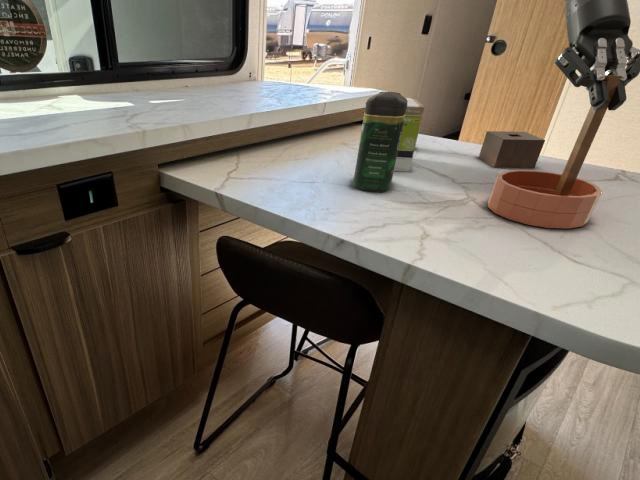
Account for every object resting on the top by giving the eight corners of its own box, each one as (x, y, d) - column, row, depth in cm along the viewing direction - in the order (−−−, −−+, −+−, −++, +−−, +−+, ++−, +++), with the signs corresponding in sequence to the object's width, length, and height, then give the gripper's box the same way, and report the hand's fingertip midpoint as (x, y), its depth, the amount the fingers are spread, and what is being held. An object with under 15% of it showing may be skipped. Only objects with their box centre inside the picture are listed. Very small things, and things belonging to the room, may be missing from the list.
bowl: (554, 201, 83) (567, 171, 79) (606, 233, 70) (624, 198, 66) (473, 199, 84) (483, 169, 80) (509, 230, 71) (522, 196, 67)
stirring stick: (560, 200, 75) (614, 74, 64) (565, 203, 73) (621, 75, 63) (551, 200, 75) (603, 74, 64) (556, 203, 74) (610, 75, 63)
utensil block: (515, 159, 109) (525, 131, 105) (533, 170, 101) (545, 140, 97) (477, 159, 109) (486, 131, 106) (493, 169, 101) (503, 139, 98)
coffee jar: (388, 196, 85) (409, 96, 75) (349, 191, 88) (364, 94, 77) (392, 182, 93) (411, 90, 82) (356, 178, 95) (370, 88, 85)
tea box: (410, 173, 98) (425, 105, 90) (367, 171, 100) (378, 104, 92) (402, 157, 111) (415, 96, 103) (364, 155, 112) (373, 95, 104)
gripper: (568, -9, 64) (580, 89, 60) (662, -10, 63) (680, 90, 60) (536, 32, 71) (546, 121, 68) (620, 32, 70) (634, 122, 67)
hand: (609, 106), depth 64 cm, fingers closed on stirring stick, 1 cm apart
